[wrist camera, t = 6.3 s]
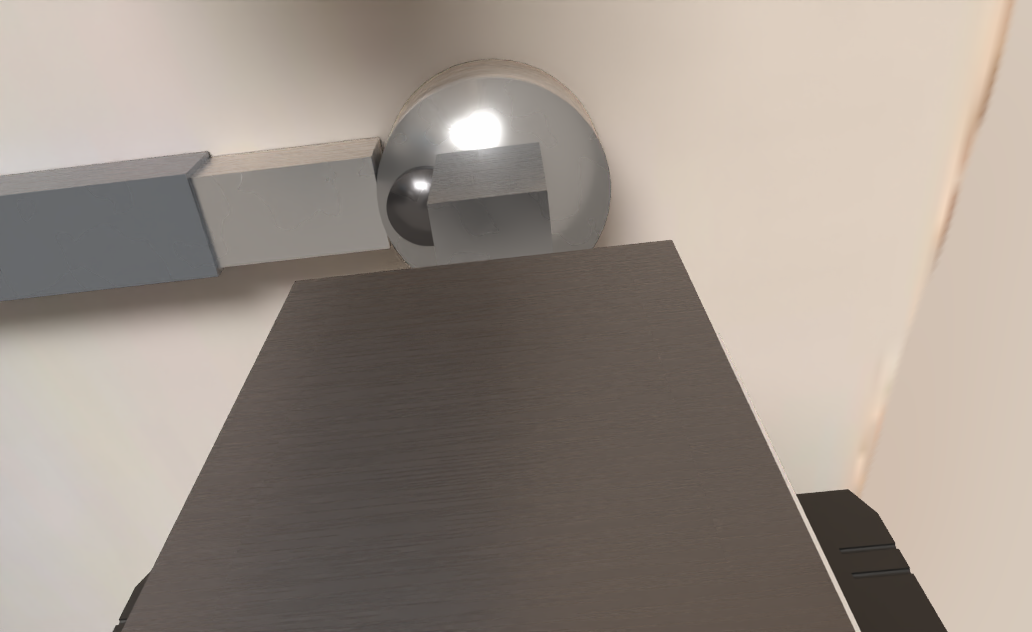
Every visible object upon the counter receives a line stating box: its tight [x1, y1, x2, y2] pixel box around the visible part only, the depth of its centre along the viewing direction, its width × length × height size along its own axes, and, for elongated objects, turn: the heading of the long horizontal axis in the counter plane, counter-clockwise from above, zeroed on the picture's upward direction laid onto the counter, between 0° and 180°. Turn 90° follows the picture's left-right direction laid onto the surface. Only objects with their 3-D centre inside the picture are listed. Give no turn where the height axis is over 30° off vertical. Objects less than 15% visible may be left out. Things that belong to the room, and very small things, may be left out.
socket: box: [121, 240, 855, 632], centre depth 11 cm, size 6×6×8 cm
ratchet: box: [0, 59, 611, 301], centre depth 24 cm, size 24×7×6 cm, turn 96°
